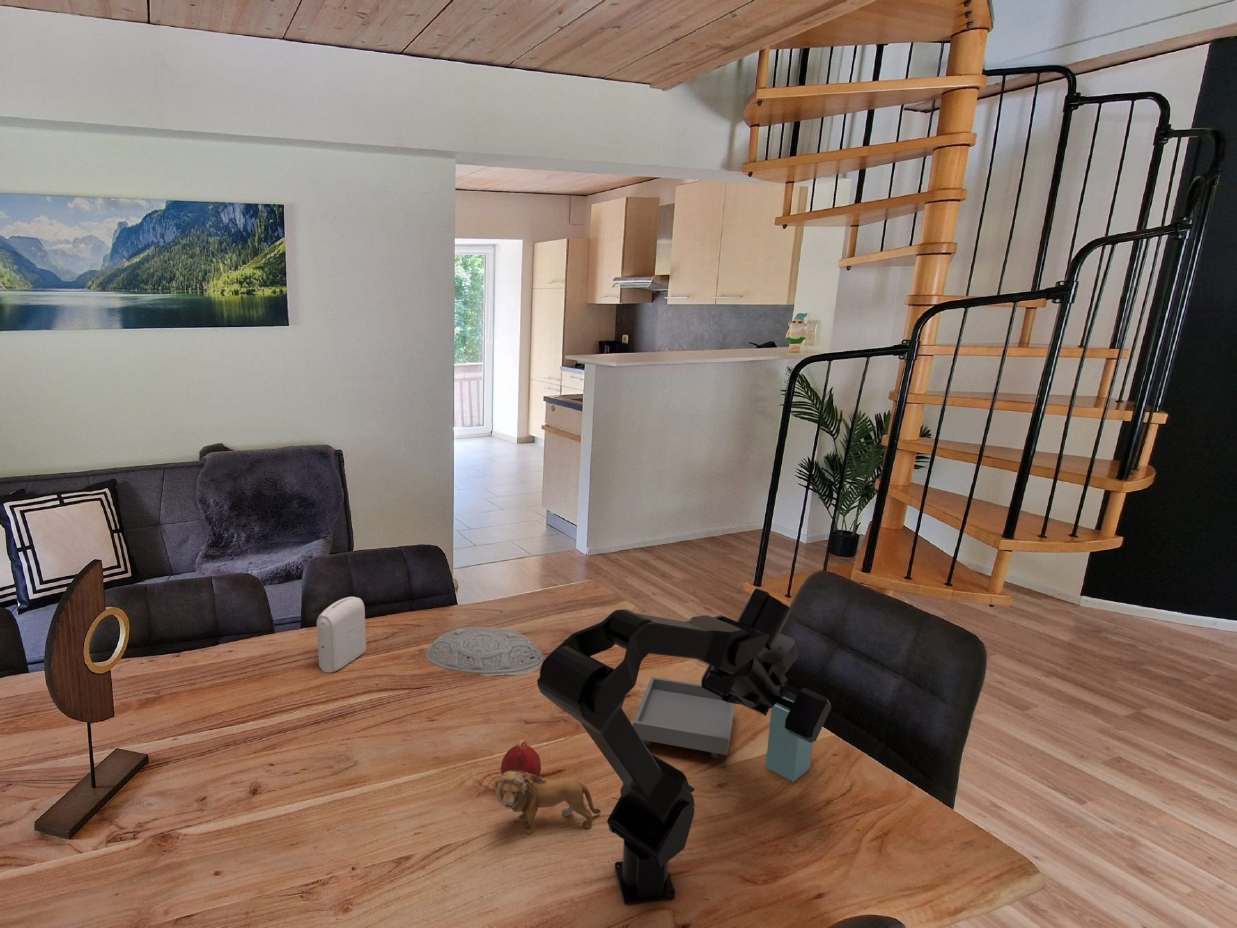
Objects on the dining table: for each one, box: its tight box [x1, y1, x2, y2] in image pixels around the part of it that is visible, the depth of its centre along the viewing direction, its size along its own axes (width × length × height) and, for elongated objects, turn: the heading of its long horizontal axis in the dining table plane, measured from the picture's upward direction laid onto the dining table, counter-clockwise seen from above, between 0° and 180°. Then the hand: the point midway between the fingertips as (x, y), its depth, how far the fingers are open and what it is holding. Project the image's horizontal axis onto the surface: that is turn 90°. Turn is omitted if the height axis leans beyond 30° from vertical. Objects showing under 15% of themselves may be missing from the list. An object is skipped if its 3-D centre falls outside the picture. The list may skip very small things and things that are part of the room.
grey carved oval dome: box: [425, 626, 544, 677], centre depth 149 cm, size 16×25×7 cm, turn 85°
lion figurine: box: [496, 770, 601, 835], centre depth 103 cm, size 15×5×9 cm, turn 108°
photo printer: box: [316, 596, 367, 674], centre depth 144 cm, size 10×4×12 cm, turn 160°
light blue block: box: [765, 697, 814, 783], centre depth 117 cm, size 5×5×11 cm
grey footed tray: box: [632, 676, 737, 759], centre depth 126 cm, size 15×15×5 cm
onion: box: [500, 739, 542, 778], centre depth 109 cm, size 6×6×8 cm
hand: (781, 715), depth 113 cm, fingers open, 9 cm apart
